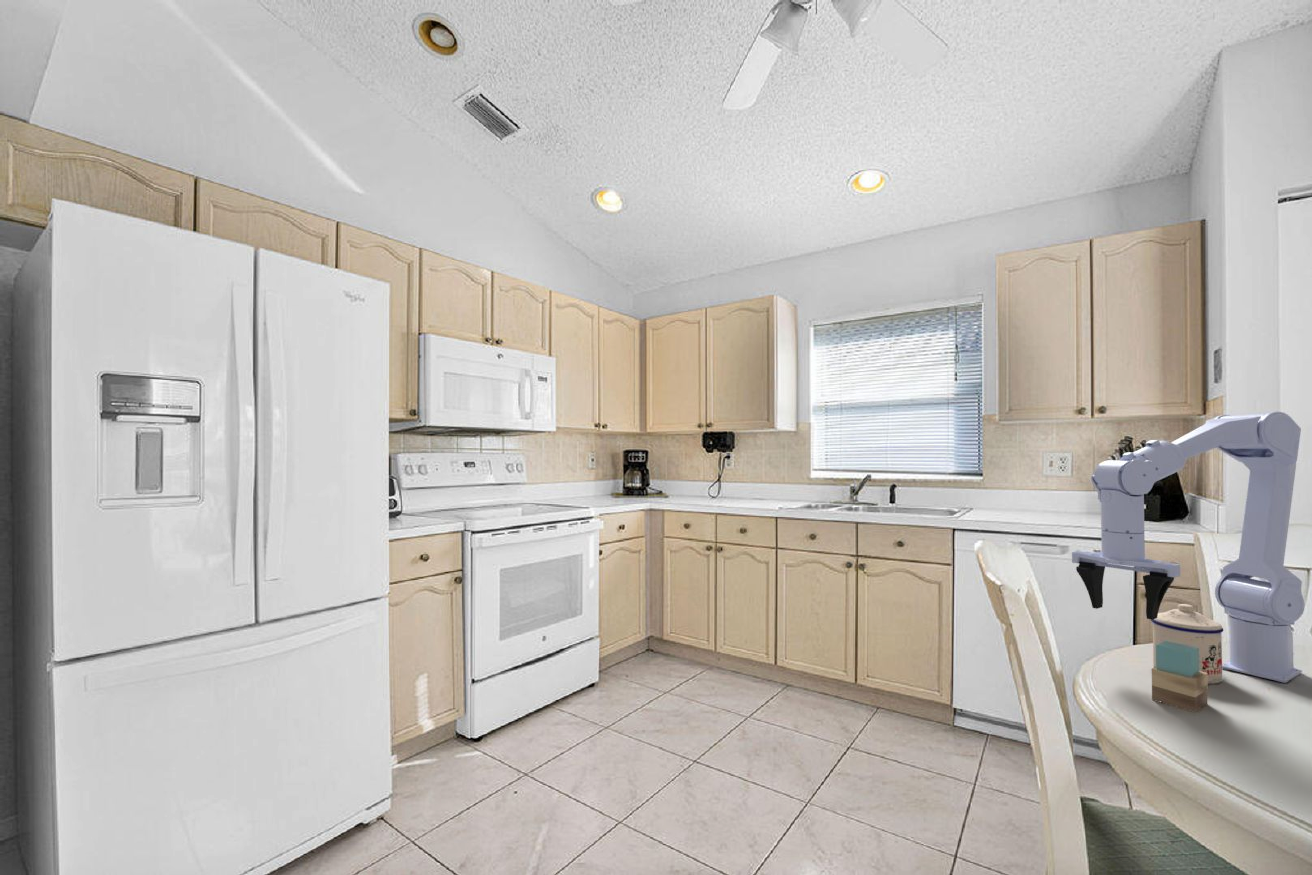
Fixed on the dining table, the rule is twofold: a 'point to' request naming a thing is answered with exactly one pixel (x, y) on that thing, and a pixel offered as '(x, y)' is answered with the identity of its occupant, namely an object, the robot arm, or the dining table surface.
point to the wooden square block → (1179, 699)
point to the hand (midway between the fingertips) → (1123, 612)
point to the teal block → (1177, 658)
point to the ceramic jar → (1192, 637)
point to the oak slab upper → (1180, 682)
